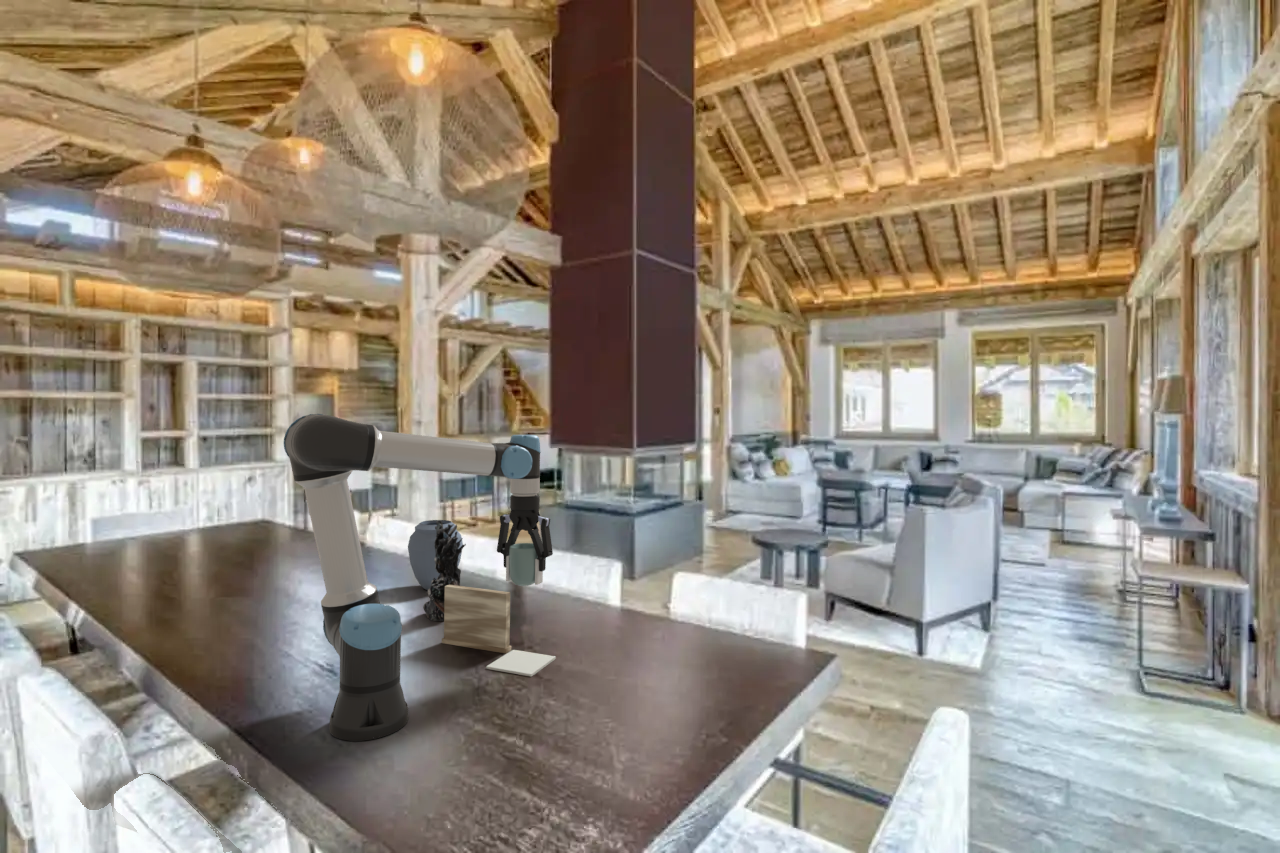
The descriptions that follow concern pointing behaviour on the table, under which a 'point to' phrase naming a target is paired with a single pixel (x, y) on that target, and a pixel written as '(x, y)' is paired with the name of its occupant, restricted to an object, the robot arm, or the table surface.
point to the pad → (521, 662)
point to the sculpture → (443, 570)
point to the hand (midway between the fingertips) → (524, 581)
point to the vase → (427, 551)
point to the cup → (522, 563)
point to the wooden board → (477, 618)
